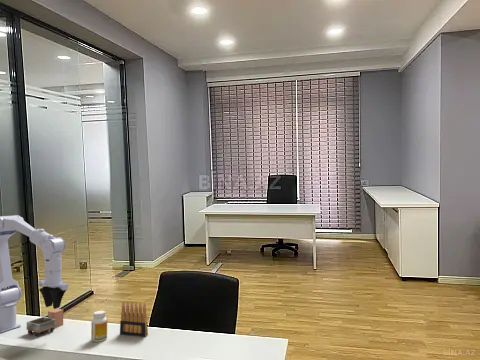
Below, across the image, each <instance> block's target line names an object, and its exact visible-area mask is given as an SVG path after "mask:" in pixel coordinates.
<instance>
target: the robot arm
mask: <svg viewBox="0 0 480 360" xmlns="http://www.w3.org/2000/svg"><path fill="white" fill-rule="evenodd" d="M17 232H18V233H21V234H23V235H25V236H27V237H29V241H30V243H31V244H34V245H35V246H37V247H39V248H40V250H41V252H42V255H43V259H44V279H41V280H38V283H37V284H38V287H42V288H39V289H38V291H39V292H40V294H41V296H42V298H43V301H44V305H45V308H49V307H51V306H53V310H54V309H60V307H61V304H62V301H63V297H64V295H65V293H66V291H67V290H69V284H68V283H66V282H64V281H62V268H63V265H62V263H63V262H62V261H63V257H62V254H63V252H64V251H65V249H66V240H65V239H64V238H63V237H60V236H58V237H55V236H54V235H53V234H50V233H48V232H47V231H45V228H34V227H33V226H32V225H31V224H29V223H27V221H25V220H24V217H22V216H20V215H18V214H14V215H1V216H0V333H4V332H7V331H11V330H13V329H16V328H20V327H22V325H21V324H20V323H17V304H18V303H19V300H21V298H22V293H23V292H22V289H21V287H20V285H19V281H17V280H16V279H14V278H13V271H12V266H11V265H12V263H11V256H10V248H9V242H8V241H9V239H10V237H11V236H13V235H15V234H16V233H17Z"/></svg>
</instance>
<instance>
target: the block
mask: <svg viewBox="0 0 480 360" xmlns="http://www.w3.org/2000/svg"><path fill="white" fill-rule="evenodd" d="M47 318H51V319H56V322H55V327H54V329H55V328H56V329H57V328H58V326H59V327H61V326H63V325H64V309H61V308H56V309H54V308H53V309H51V310H47Z"/></svg>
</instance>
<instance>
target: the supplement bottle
mask: <svg viewBox="0 0 480 360" xmlns="http://www.w3.org/2000/svg"><path fill="white" fill-rule="evenodd" d="M90 332H91V333H90V334H91V336H90V337H91V341H92V342H95V343H97V342H99V343H100V342H103V341H106V340H107V339H108V318H107V317H106V310H97V311H94V312H93V318H92V319H91V331H90Z"/></svg>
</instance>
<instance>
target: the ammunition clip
mask: <svg viewBox="0 0 480 360" xmlns="http://www.w3.org/2000/svg"><path fill="white" fill-rule="evenodd" d="M120 316H121V317H120V322H119V323H120V325H119V335H122V336H133V337H142V338H146V337H147V336H149V334H148V333H149V332H148V331H149V330H148V329H149V328H148V320H147V319H148V316H147V306H146V303H143V306H142V302H139V305H138V304H137V302H135V304H134V303H133V302H131V303H130V304H129V302H128V301H127V302H126V304H125V301H123V302H122V304H121V311H120Z"/></svg>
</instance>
